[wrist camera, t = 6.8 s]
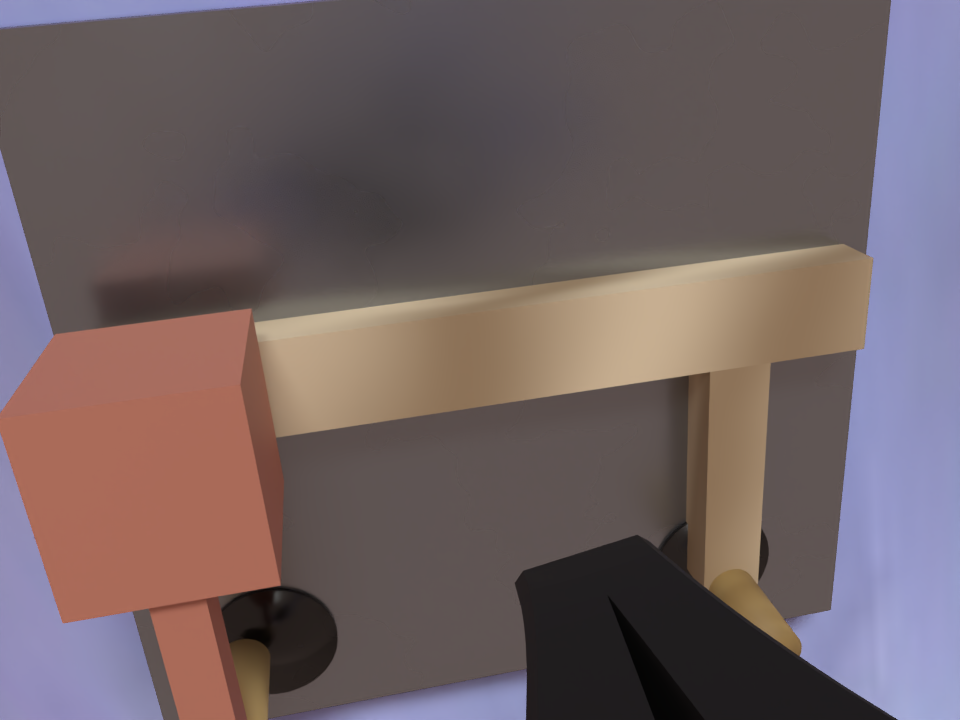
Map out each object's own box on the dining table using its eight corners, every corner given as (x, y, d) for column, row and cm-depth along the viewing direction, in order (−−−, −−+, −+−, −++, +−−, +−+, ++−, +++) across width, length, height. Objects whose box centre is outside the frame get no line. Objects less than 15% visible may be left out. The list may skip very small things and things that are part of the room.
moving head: (254, 290, 15) (239, 384, 12) (332, 712, 19) (340, 880, 15) (68, 314, 15) (-4, 419, 11) (186, 741, 19) (159, 920, 15)
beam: (843, 243, 17) (943, 292, 15) (815, 560, 20) (895, 650, 18) (87, 344, 15) (43, 422, 13) (178, 678, 18) (157, 798, 16)
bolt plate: (856, -46, 16) (899, -49, 15) (804, 579, 22) (833, 612, 21) (-9, 27, 14) (-36, 32, 13) (175, 697, 20) (168, 741, 19)
